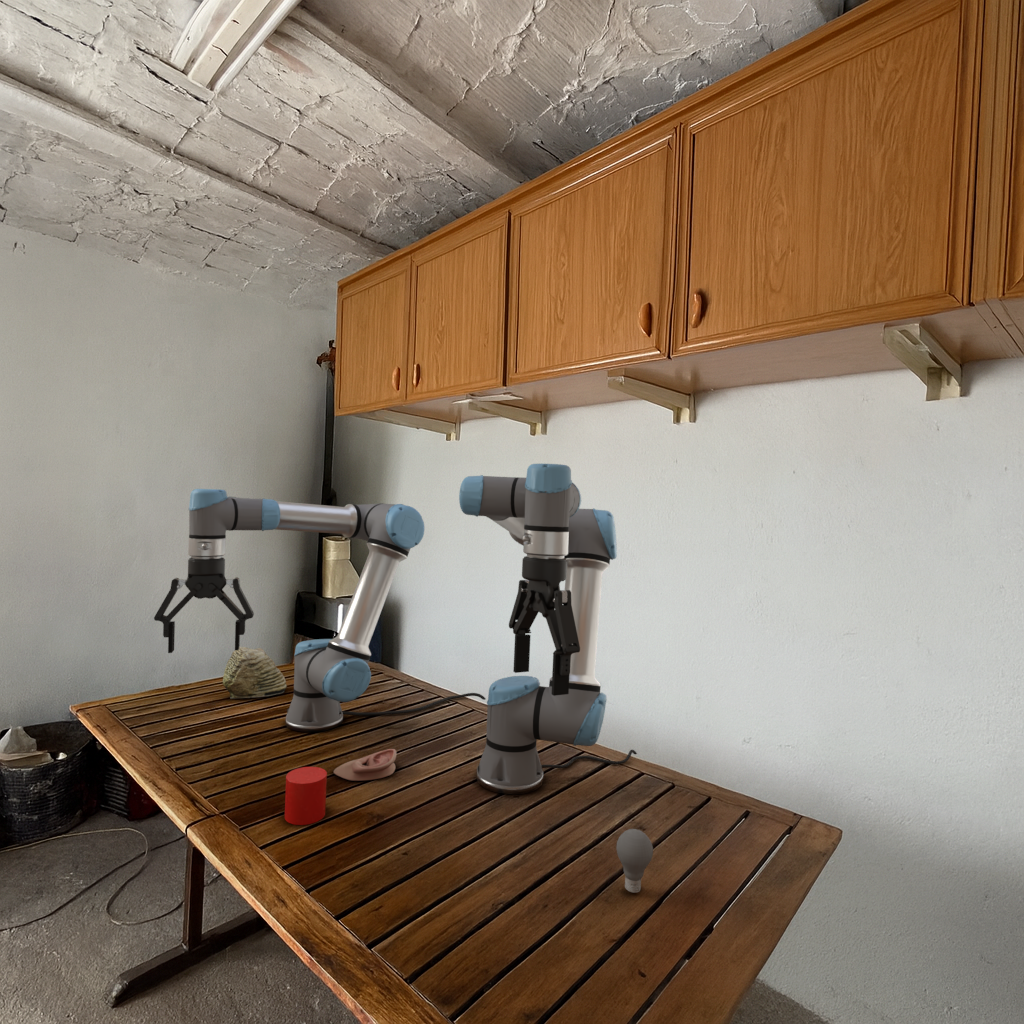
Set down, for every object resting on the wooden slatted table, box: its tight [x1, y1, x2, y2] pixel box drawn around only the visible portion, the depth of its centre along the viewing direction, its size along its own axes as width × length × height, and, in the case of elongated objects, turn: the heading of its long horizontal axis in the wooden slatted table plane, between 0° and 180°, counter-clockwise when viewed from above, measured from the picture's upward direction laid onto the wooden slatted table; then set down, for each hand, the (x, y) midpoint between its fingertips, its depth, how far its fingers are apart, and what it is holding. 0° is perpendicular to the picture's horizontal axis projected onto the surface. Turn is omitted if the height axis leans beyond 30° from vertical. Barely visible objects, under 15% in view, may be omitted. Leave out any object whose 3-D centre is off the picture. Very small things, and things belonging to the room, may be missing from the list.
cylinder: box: [284, 766, 328, 826], centre depth 126 cm, size 8×8×8 cm
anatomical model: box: [333, 748, 397, 782], centre depth 147 cm, size 13×4×12 cm
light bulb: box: [615, 828, 654, 894], centre depth 106 cm, size 6×6×10 cm
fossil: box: [222, 646, 288, 699], centre depth 198 cm, size 9×18×15 cm, turn 132°
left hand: (204, 650), depth 144 cm, fingers open, 13 cm apart
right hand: (539, 682), depth 106 cm, fingers open, 13 cm apart
